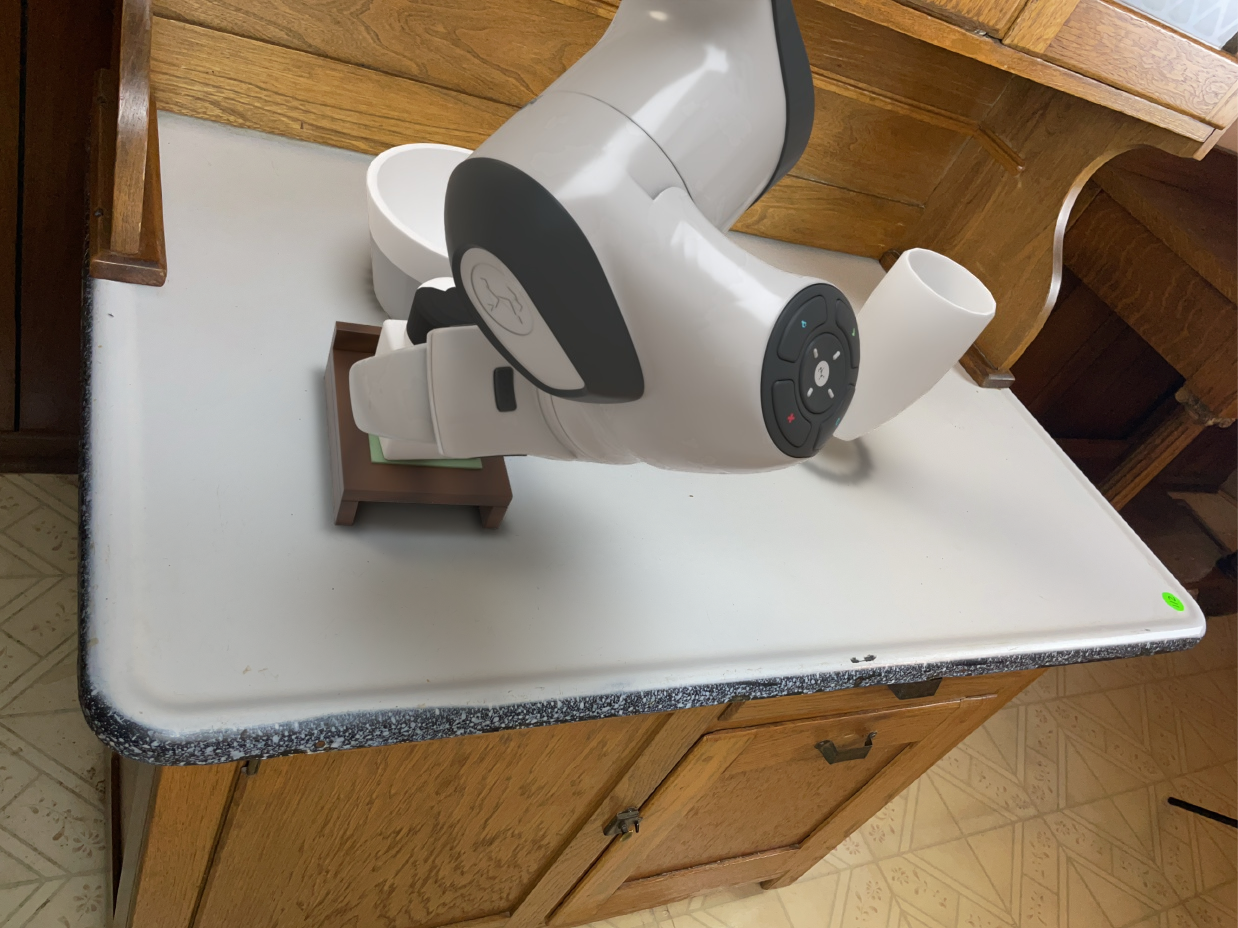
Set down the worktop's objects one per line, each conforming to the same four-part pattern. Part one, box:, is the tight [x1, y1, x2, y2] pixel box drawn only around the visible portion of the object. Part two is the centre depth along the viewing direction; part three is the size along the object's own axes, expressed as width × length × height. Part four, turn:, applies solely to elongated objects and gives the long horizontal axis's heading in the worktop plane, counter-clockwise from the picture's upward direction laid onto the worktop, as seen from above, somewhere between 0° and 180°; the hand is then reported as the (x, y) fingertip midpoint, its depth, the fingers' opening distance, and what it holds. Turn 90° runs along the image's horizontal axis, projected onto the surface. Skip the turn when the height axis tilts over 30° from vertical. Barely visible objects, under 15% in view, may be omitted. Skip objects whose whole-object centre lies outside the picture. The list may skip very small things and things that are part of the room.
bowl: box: [365, 142, 475, 321], centre depth 78 cm, size 19×19×11 cm
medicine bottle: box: [375, 277, 475, 460], centre depth 60 cm, size 7×7×12 cm
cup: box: [832, 247, 997, 441], centre depth 83 cm, size 10×10×22 cm
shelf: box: [323, 320, 514, 530], centre depth 65 cm, size 12×15×6 cm
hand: (468, 383), depth 57 cm, fingers open, 8 cm apart
